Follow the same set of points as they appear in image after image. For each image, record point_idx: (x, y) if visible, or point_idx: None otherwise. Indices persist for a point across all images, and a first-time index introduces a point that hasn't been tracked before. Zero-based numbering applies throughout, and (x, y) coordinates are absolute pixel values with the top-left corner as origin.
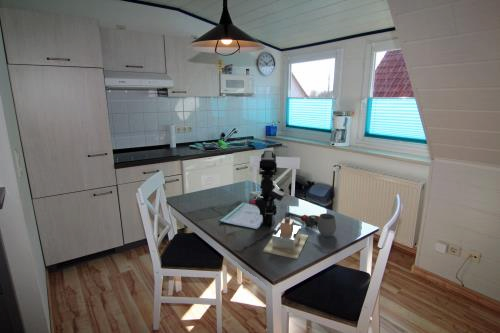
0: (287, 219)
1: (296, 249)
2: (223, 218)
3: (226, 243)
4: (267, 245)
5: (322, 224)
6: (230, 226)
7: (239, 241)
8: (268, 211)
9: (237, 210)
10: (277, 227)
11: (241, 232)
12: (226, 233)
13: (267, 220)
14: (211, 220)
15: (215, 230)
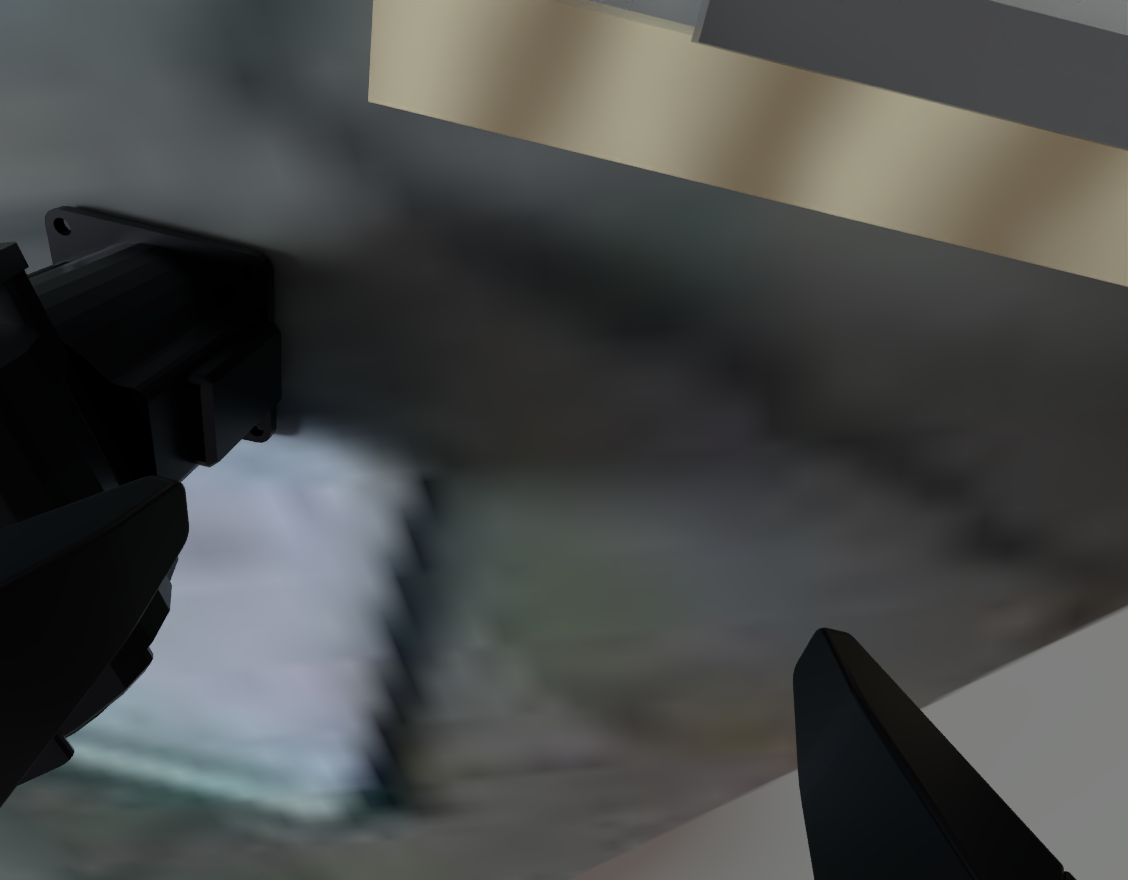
0: None
1: None
2: (275, 800)
3: None
4: (1037, 249)
5: None
6: (439, 733)
7: (812, 622)
8: (93, 470)
9: None
10: (1083, 75)
11: (563, 626)
12: (618, 748)
13: (223, 370)
14: (364, 869)
15: (569, 828)
